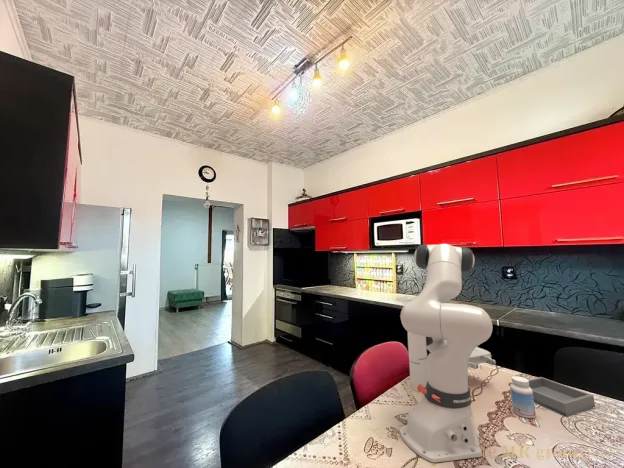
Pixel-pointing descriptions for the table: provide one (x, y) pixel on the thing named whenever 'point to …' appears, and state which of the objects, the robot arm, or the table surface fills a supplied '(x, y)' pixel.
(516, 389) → the pill bottle
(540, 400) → the tray
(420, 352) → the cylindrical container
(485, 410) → the table surface
